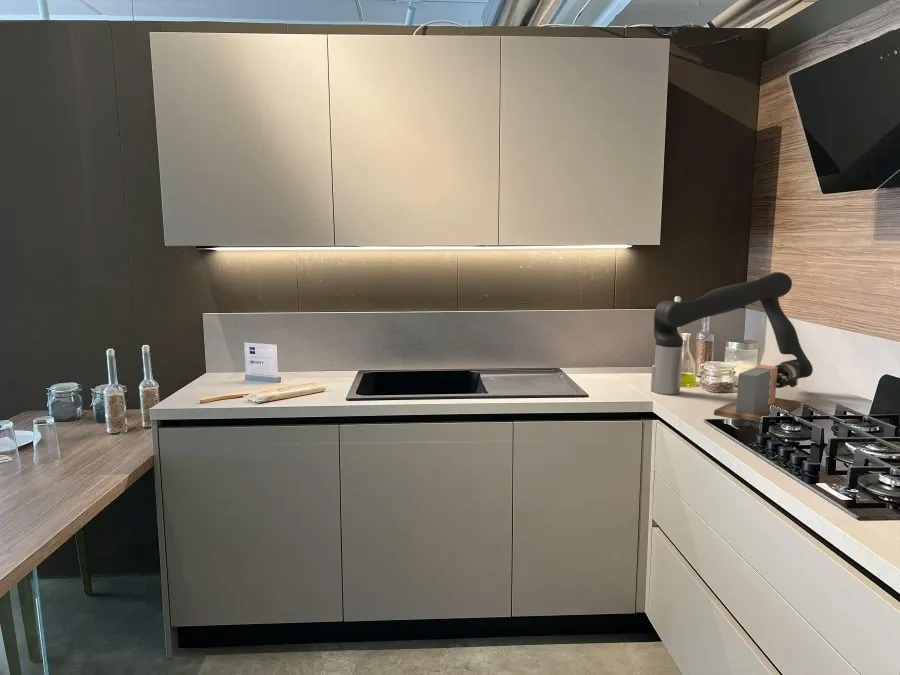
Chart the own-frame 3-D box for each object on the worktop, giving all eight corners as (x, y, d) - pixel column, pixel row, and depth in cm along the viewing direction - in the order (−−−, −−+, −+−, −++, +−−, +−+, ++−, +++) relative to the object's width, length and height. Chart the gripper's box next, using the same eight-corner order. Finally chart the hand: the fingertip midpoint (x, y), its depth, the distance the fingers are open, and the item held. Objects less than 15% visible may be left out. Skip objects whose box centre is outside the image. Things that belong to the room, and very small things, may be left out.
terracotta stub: (752, 403, 202) (755, 367, 201) (758, 400, 207) (761, 364, 205) (768, 405, 199) (771, 369, 197) (774, 402, 203) (777, 366, 201)
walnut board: (713, 414, 194) (714, 410, 194) (750, 397, 217) (750, 393, 216) (768, 425, 183) (769, 420, 183) (800, 406, 206) (800, 401, 205)
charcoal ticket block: (736, 411, 192) (738, 373, 190) (751, 403, 202) (754, 367, 200) (753, 414, 188) (756, 376, 187) (768, 406, 198) (771, 370, 197)
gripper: (760, 362, 218) (744, 367, 207) (805, 367, 208) (790, 374, 197) (758, 382, 219) (742, 389, 208) (803, 389, 209) (788, 397, 198)
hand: (765, 382), depth 202 cm, fingers open, 8 cm apart
